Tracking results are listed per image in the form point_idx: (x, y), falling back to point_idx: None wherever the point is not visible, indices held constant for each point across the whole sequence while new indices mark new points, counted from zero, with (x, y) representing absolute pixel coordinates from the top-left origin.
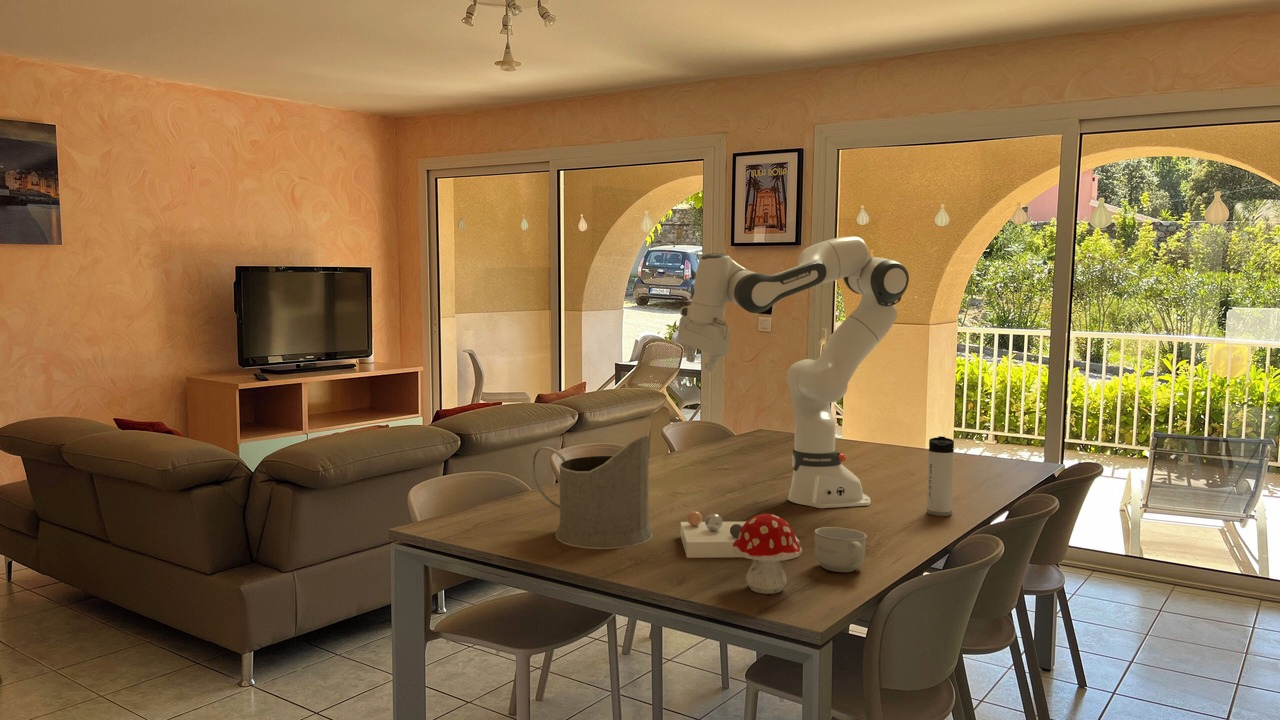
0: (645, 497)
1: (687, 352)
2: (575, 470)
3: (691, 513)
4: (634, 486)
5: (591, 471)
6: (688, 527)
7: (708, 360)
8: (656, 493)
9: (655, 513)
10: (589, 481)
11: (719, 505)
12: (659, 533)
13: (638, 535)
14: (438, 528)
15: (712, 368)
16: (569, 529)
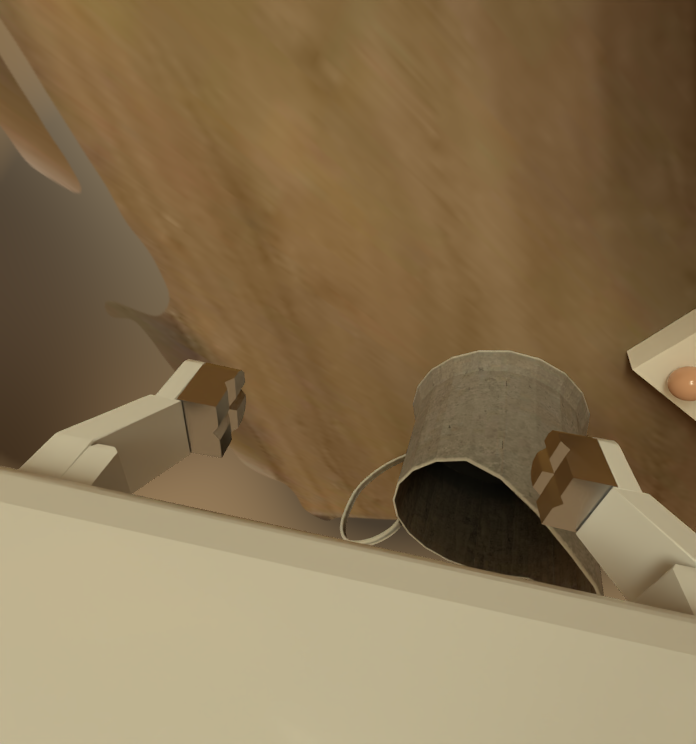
0: None
1: (162, 471)
2: (402, 488)
3: (689, 400)
4: None
5: (533, 579)
6: None
7: (615, 580)
8: (289, 120)
9: (447, 262)
10: (529, 561)
11: (513, 47)
12: (571, 360)
13: (583, 430)
14: (323, 494)
15: (617, 459)
16: (488, 483)
